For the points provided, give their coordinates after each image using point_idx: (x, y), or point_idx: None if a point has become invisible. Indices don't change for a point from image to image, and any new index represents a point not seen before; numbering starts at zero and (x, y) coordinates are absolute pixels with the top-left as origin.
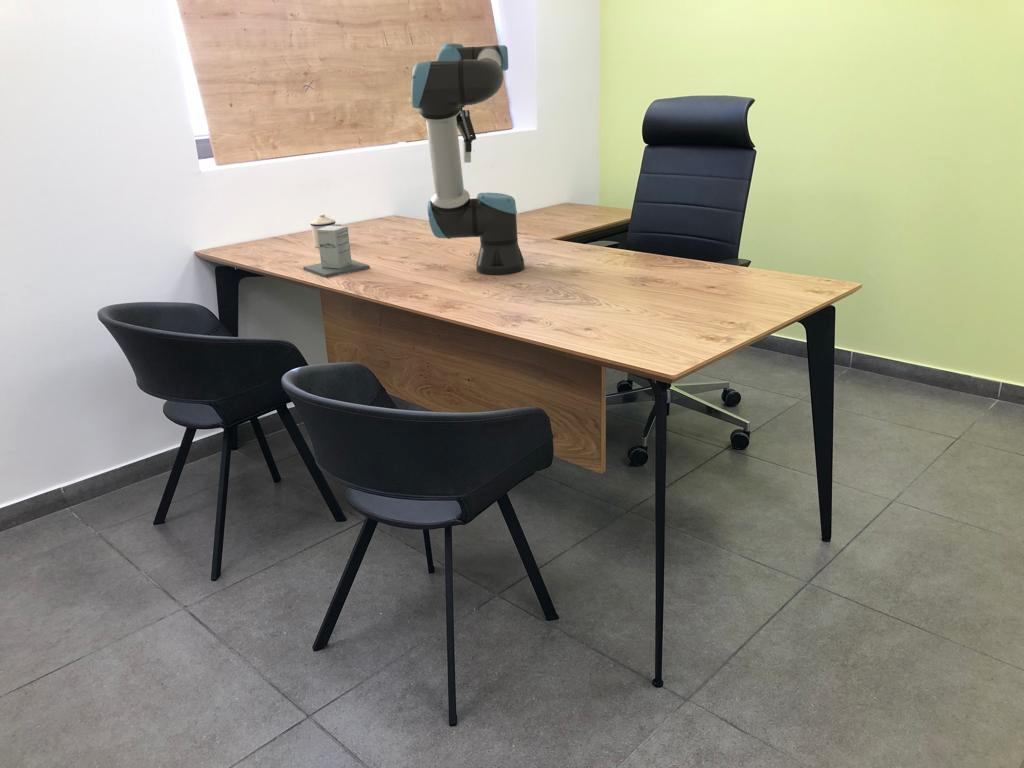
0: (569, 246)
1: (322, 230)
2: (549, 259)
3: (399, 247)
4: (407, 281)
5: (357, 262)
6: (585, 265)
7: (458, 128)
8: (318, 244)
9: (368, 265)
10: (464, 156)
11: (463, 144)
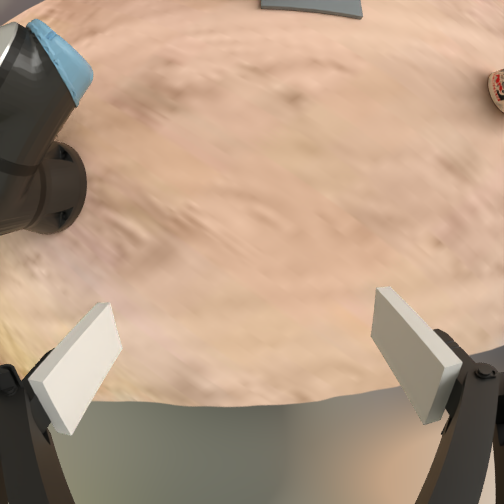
0: (113, 384)
1: None
2: (53, 295)
3: (398, 157)
4: (113, 22)
5: (306, 5)
6: (4, 298)
7: (48, 502)
8: (496, 71)
9: (261, 4)
10: (81, 320)
11: (46, 368)
